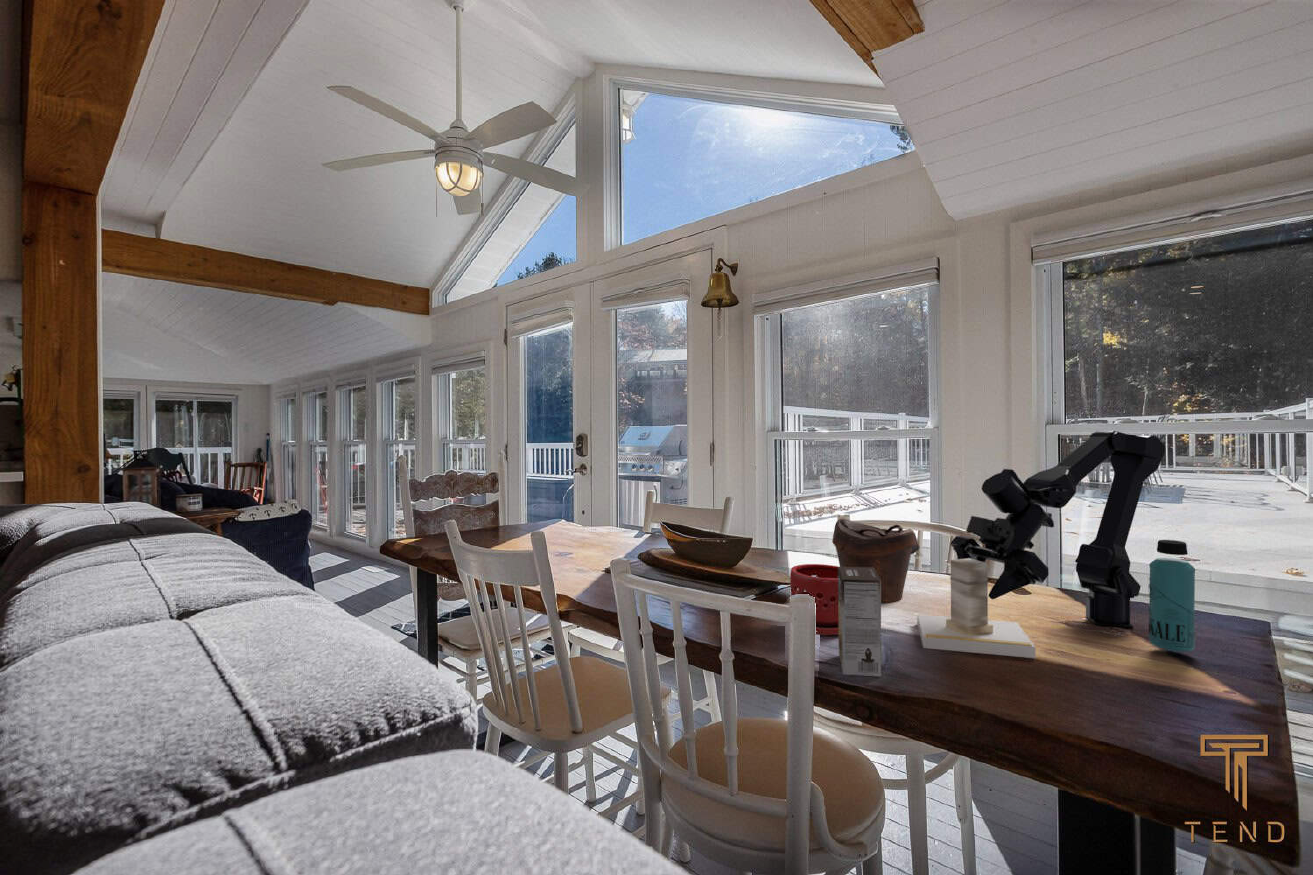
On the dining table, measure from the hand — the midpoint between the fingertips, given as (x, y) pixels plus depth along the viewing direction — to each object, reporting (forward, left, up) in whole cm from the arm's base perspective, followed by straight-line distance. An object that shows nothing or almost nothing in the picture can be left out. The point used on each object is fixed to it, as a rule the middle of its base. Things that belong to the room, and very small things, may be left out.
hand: (971, 591), depth 117 cm
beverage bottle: (-32, -2, -9) cm, 34 cm away
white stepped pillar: (0, 0, -7) cm, 7 cm away
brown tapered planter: (+17, -27, -10) cm, 33 cm away
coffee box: (+20, +19, -10) cm, 29 cm away
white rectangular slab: (0, 0, -9) cm, 9 cm away
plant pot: (+27, +1, -10) cm, 29 cm away
